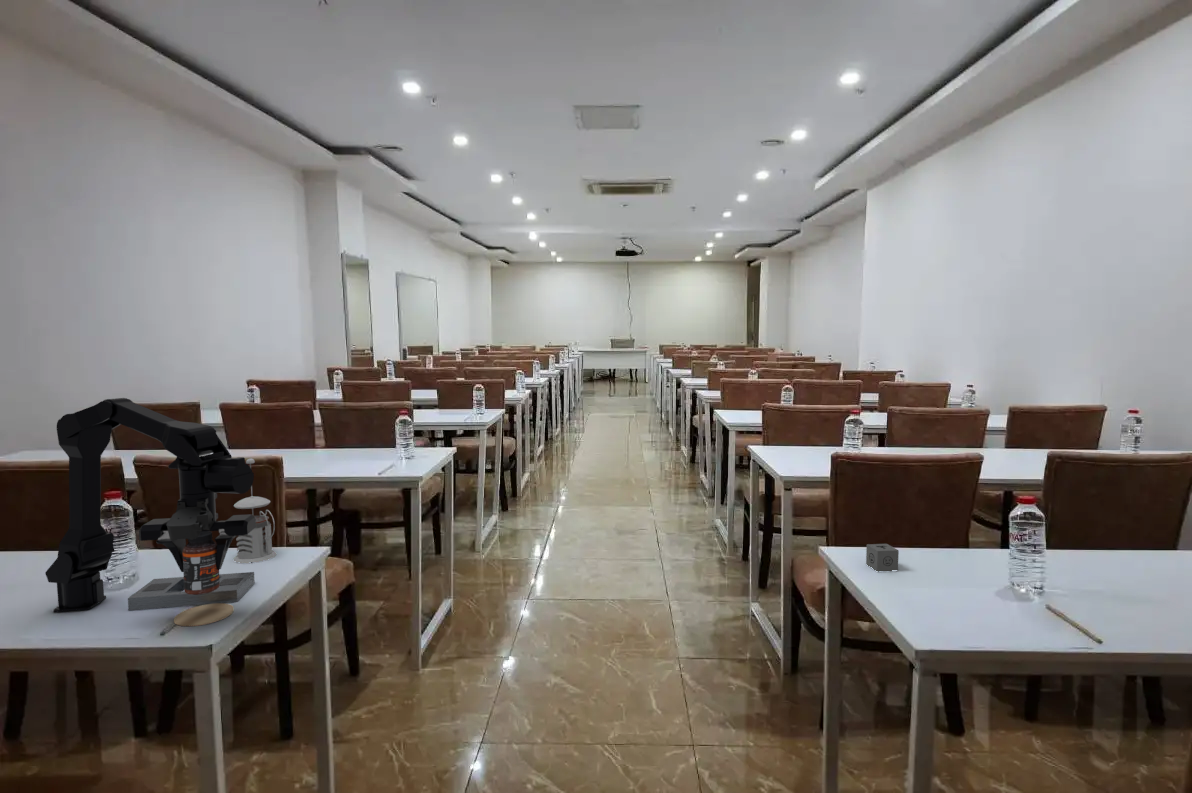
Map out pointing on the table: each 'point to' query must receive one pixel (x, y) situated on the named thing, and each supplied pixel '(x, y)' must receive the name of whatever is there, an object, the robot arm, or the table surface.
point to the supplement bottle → (200, 565)
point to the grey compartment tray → (170, 594)
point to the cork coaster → (203, 614)
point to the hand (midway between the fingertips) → (201, 570)
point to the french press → (255, 532)
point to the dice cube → (882, 557)
